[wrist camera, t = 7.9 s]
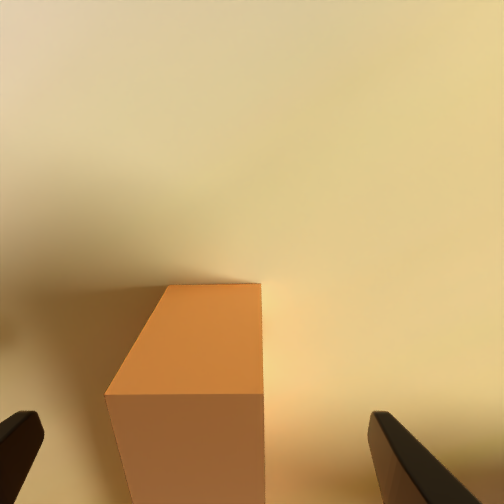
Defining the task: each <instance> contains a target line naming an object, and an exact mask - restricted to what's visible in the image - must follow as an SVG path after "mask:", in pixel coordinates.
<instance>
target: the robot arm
mask: <svg viewBox="0 0 504 504" xmlns="http://www.w3.org/2000/svg"><path fill="white" fill-rule="evenodd" d="M43 439H44V429H43V426H42V424H41V421H40V418H39V416H38V413H37V412H36V411H19V412H17V413H15V414H13V415H12V416H10V417H9V418H7V419H6V420H4V421H3V422H1V423H0V504H14V502H15V500H16V498H17V496H18V494H19V492H20V489H21V487H22V485H23V483H24V481H25V479H26V477H27V474H28V472H29V470H30V468H31V466H32V464H33V462H34V460H35V457H36V455H37V453H38V451H39V449H40V447H41V445H42V442H43ZM368 443H369V447H370V451H371V455H372V459H373V463H374V467H375V471H376V475H377V479H378V483H379V487H380V491H381V495H382V499H383V503H384V504H482V503H481V502H480V501H479V500H478V499H477V498H476V497H475V496H474V495H473V494H472V493H471V492H470V491H469V490H468V489H467V488H466V487H465V486H464V485H463V484H462V483H461V482H460V481H459V480H458V479H457V478H456V477H455V476H454V475H453V474H452V473H451V472H450V471H449V470H448V469H446V468H445V467H444V466H443V465H442V464H441V463H440V462H439V461H438V460H437V459H436V458H435V457H434V456H433V455H432V454H431V453H430V452H429V451H428V450H427V449H426V448H425V447H424V446H423V445H422V444H421V443H420V442H419V441H418V440H417V439H416V438H415V437H414V436H413V435H412V434H411V433H410V432H409V431H408V430H407V429H406V428H405V427H404V426H403V425H402V424H401V423H400V422H399V421H398V420H397V419H396V418H394V417H393V416H392V415H391V414H390V413H389V412H387V411H373V412H372V413H371V416H370V422H369V428H368Z"/></svg>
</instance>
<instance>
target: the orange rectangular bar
mask: <svg viewBox="0 0 504 504" xmlns="http://www.w3.org/2000/svg"><path fill="white" fill-rule="evenodd" d="M104 397H105V400H106V404H107V408H108V412H109V416H110V419H111V423H112V427H113V431H114V434H115V438H116V442H117V446H118V449H119V453H120V457H121V461H122V465H123V468H124V472H125V476H126V480H127V483H128V487H129V491H130V495H131V498H132V502H133V504H265V454H264V391H263V347H262V302H261V284H205V285H169V286H168V287H167V289H166V291H165V292H164V294H163V296H162V297H161V299H160V301H159V302H158V304H157V306H156V308H155V309H154V311H153V313H152V314H151V316H150V318H149V319H148V321H147V323H146V324H145V326H144V328H143V329H142V331H141V333H140V335H139V336H138V338H137V340H136V341H135V343H134V345H133V346H132V348H131V350H130V351H129V353H128V355H127V357H126V358H125V360H124V362H123V363H122V365H121V367H120V368H119V370H118V372H117V373H116V375H115V377H114V378H113V380H112V382H111V384H110V385H109V387H108V389H107V390H106V392H105V394H104Z"/></svg>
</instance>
